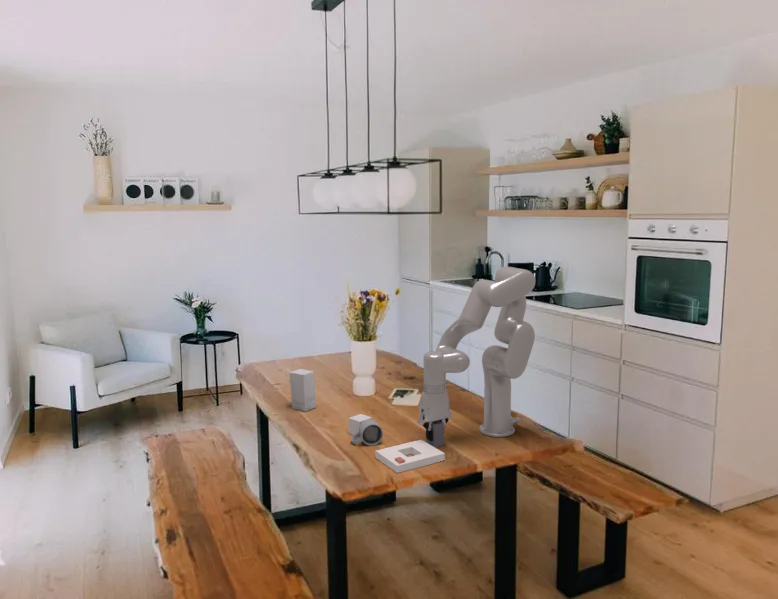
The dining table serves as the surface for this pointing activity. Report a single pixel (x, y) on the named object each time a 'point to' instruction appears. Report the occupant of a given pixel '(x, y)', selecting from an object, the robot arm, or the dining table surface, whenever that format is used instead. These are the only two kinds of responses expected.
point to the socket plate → (400, 462)
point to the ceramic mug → (368, 433)
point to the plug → (437, 434)
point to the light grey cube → (356, 423)
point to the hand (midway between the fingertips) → (435, 438)
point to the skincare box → (303, 389)
